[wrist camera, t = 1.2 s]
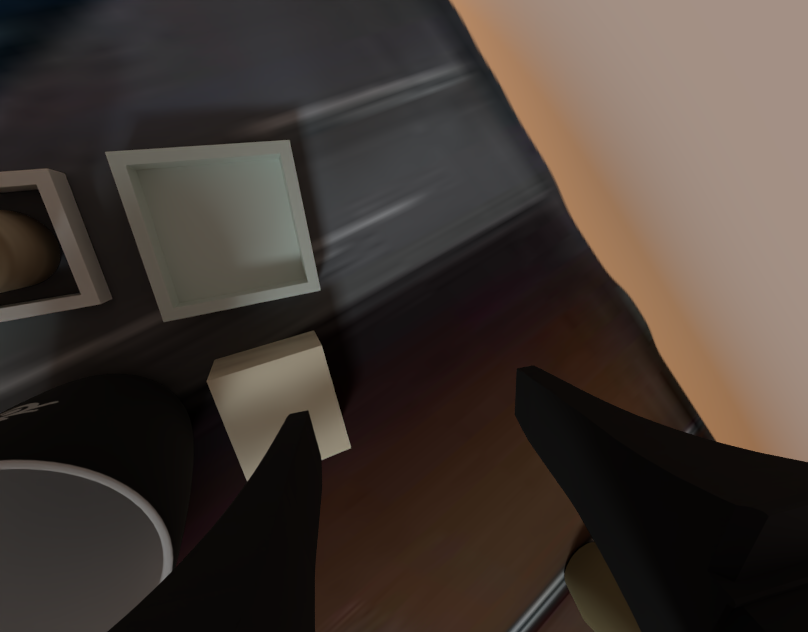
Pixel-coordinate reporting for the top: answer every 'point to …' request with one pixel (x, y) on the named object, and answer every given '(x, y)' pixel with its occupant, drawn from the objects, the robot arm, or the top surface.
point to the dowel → (25, 251)
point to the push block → (276, 396)
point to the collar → (70, 238)
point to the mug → (90, 501)
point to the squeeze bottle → (598, 592)
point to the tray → (217, 224)
